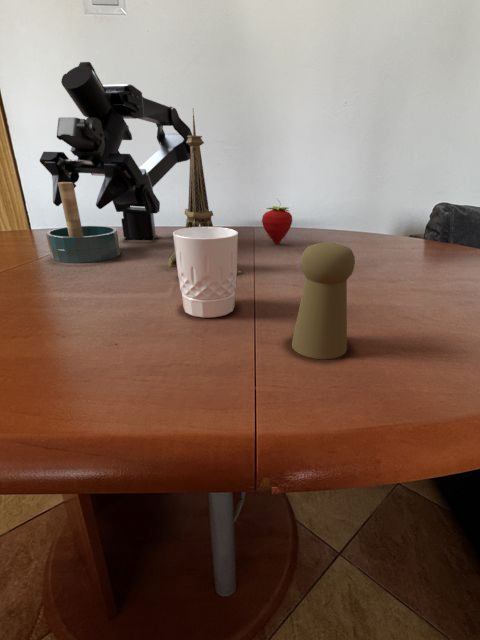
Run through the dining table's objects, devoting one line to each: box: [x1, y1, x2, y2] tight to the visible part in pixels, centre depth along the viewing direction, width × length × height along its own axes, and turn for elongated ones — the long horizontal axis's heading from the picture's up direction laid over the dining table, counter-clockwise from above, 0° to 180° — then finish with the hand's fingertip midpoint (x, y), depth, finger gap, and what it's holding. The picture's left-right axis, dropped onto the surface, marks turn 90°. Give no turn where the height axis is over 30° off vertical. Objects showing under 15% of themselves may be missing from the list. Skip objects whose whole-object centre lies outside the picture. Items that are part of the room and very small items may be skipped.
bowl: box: [45, 225, 121, 264], centre depth 72 cm, size 12×12×5 cm
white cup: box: [172, 226, 239, 319], centre depth 48 cm, size 8×8×10 cm
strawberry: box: [261, 199, 293, 245], centre depth 86 cm, size 6×8×10 cm
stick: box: [58, 182, 83, 237], centre depth 68 cm, size 4×4×13 cm
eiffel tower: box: [165, 109, 243, 279], centre depth 62 cm, size 11×11×25 cm
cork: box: [291, 242, 356, 360], centre depth 39 cm, size 6×6×11 cm
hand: (76, 205), depth 69 cm, fingers open, 9 cm apart
